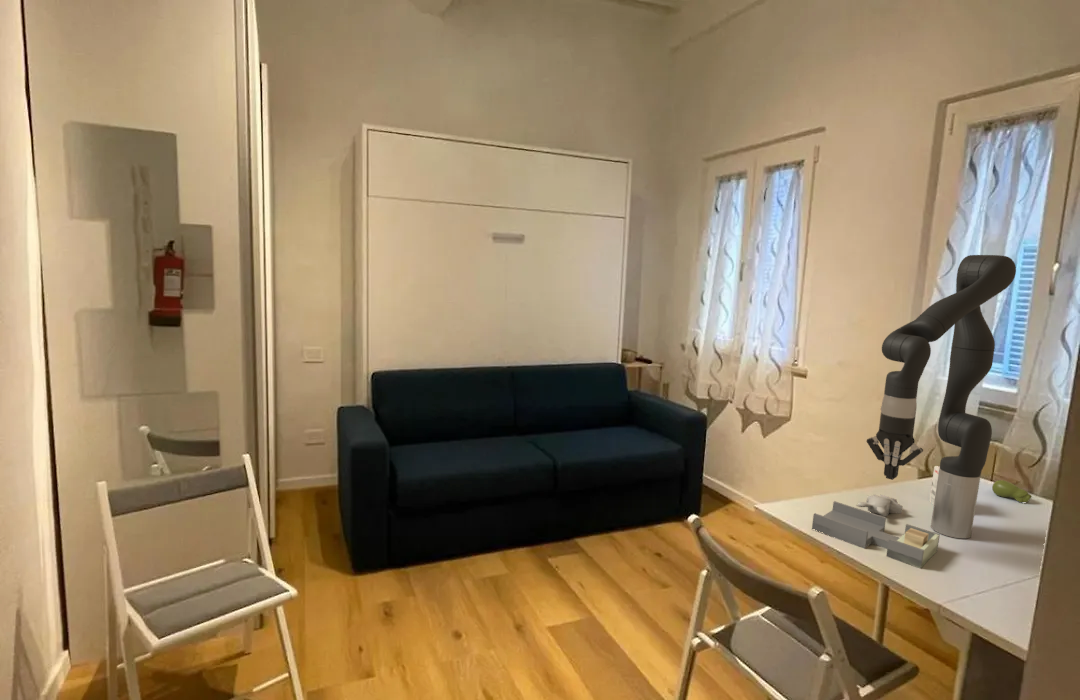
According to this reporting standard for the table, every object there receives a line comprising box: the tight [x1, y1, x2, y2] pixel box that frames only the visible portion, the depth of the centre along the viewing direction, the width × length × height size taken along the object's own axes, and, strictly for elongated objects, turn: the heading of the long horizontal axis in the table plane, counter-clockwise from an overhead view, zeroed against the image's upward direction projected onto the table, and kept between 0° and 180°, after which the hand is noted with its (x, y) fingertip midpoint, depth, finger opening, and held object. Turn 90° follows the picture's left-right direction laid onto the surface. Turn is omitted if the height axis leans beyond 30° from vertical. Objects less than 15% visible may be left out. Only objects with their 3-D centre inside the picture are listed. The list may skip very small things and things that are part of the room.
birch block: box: [904, 528, 929, 549], centre depth 149 cm, size 4×4×4 cm
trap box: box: [811, 500, 941, 569], centre depth 157 cm, size 14×26×4 cm, turn 43°
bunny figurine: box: [856, 494, 903, 517], centre depth 175 cm, size 10×5×15 cm
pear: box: [992, 479, 1033, 503], centre depth 190 cm, size 6×5×10 cm
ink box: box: [929, 465, 940, 506], centre depth 180 cm, size 9×5×12 cm, turn 168°
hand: (890, 478), depth 153 cm, fingers closed
